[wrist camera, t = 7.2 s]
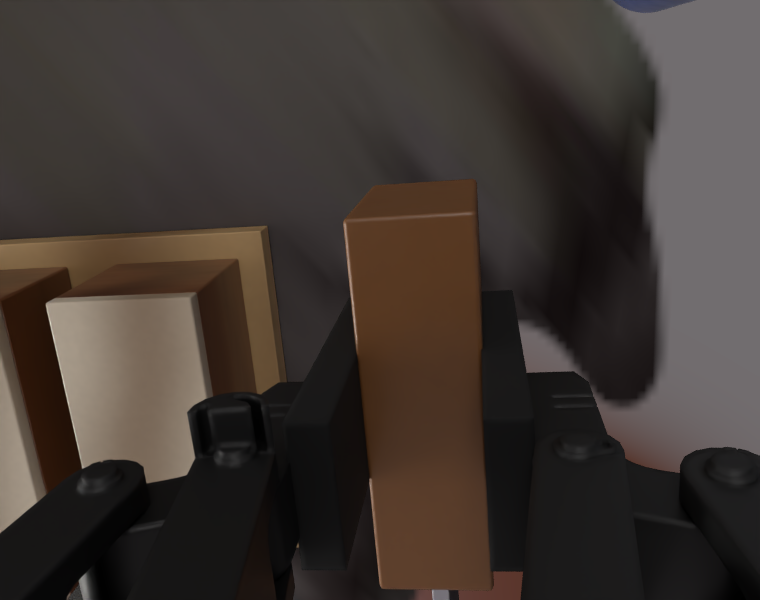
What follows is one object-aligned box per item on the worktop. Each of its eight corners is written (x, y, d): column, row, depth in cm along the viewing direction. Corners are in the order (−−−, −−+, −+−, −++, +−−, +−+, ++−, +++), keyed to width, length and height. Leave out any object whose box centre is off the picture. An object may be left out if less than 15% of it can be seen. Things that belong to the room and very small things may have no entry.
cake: (267, 225, 28) (216, 265, 23) (306, 533, 32) (271, 633, 27) (-59, 243, 30) (-182, 283, 25) (17, 532, 34) (-73, 624, 29)
